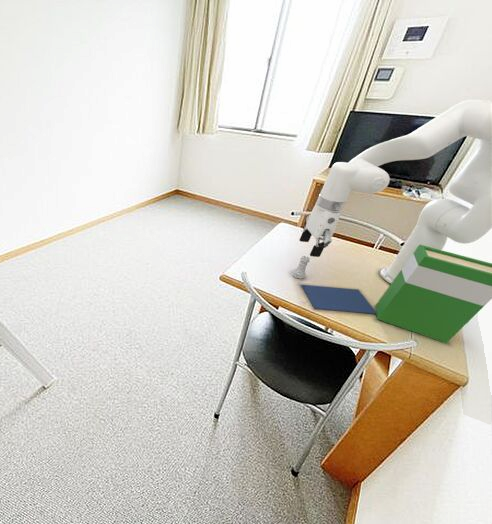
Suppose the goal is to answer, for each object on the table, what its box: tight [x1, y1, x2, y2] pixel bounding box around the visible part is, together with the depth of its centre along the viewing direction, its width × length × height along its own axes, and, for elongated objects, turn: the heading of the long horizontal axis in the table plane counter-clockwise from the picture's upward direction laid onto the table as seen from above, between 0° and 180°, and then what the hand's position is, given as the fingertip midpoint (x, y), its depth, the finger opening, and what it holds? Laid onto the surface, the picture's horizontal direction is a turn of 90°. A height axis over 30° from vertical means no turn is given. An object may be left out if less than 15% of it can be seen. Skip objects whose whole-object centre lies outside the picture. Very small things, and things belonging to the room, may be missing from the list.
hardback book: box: [374, 245, 492, 344], centre depth 87 cm, size 18×7×24 cm, turn 61°
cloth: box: [300, 284, 377, 315], centre depth 102 cm, size 20×12×1 cm, turn 86°
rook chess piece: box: [291, 255, 311, 280], centre depth 110 cm, size 4×4×8 cm
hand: (308, 248), depth 105 cm, fingers open, 9 cm apart
